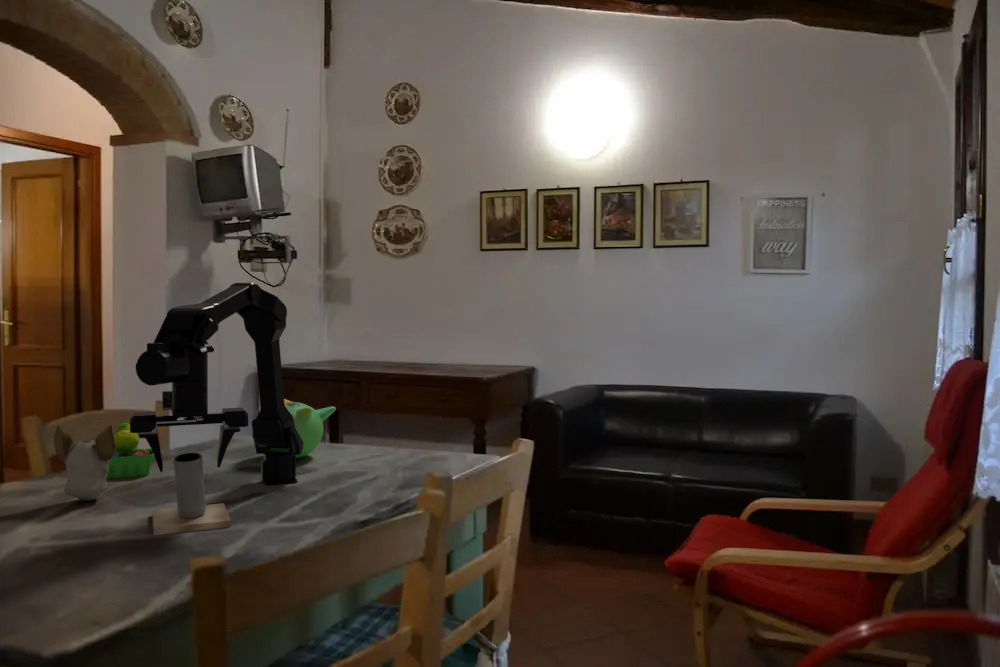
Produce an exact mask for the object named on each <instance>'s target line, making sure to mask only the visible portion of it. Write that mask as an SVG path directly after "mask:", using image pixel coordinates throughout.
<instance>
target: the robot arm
mask: <svg viewBox="0 0 1000 667" xmlns="http://www.w3.org/2000/svg"><path fill="white" fill-rule="evenodd" d="M234 314H237V315H239V317H241V318H242V319H243V325H244V330H245V331H246V332H247V334H248V336H249V337H250V338H251V340H252V341H253V342H254V352H255V360H256V362H255V363H256V373H257V374H256V375H257V385H258V396H259V405H260V406H259V407H260V410H259V412H258V414H257V415H256V417H255V418H253V419H252V421H251V428H252V439H253V443H254V447H255V453H256V454H257V455H260V454H261V455H263V459H261V460H260V479H261V480H262V482H263V483H264V484H265V485H266V486H275V485H276V486H277V485H286V484H297V483H298V479H297V475H296V474H297V472H296V471H297V470H296V467H297V466H296V464H297V462H296V459H297V458H296V455H299V454H301V452H302V451H303V444H304V442H303V440H302V439H301V437H300V435H299V434H298V432H297V430H296V429H295V424H294V418H293V416H292V415H291V414H290V412H289V411H288V409H287V408H286V407H285V404H284V399H285V395H284V393H285V392H284V383H283V381H284V380H283V371H282V357H281V347H280V345H281V344H280V338H281V336H282V335H283V333H284V331H285V329H286V328H287V316H288V309H287V306H286V305H285V303H284V302H282V300H281V299H280V298H279V297H278V296H277V295H275V294H273V293H270V292H268V291H266V290H265V289H262V288H261V287H260V285H258V284H256V283H254V282H234V283H232V284H230V285H229V286H228V288H225V289H224V290H221V291H220V292H218V293H216V294H214V295H213V296H210V297H209V298H207V299H206V300H203V301H201V302H199V303H193V304H184V305H180V306H175V307H171V308H170V309H169V310H168V311H167V312H166V316H165V318H164V319H163V322H162V324H161V326H160V328H159V331H158V333H157V334H156V336H155V338H154V340H153V342H148V343H146V350H145V351H144V352H142V353H141V355H139V357H138V358H137V362H136V363H135V373H136V376H137V377H138V379H139V380H140V382H142V383H143V384H145V385H147V386H158V385H164V384H171V388H172V389H171V390H170V391H169V390H166V391H162V392H161V394H162V396H161V398H162V400H161V403H162V405H161V406H162V411H171V412H170V413H171V415H169V414H168V415H157V413H156V411H140V412H133V413H132V414H131V415H130V418H129V424H130V433H137V434H138V437H139V439H145V440H146V442H147V443H148V445H149V447H150V449H152V451H153V453H154V459H155V460H156V464H157V467H158V470H159V472H160V473H162V472H163V470H164V466H163V465H164V464H163V463H164V462H163V456H162V449H161V444H160V437H159V431H158V428H159V427H176V426H180V427H181V426H197V425H198V426H199V425H214V424H215V425H216V424H220V425H219V439H218V444H217V445H218V447H217V455H216V467H217V468H221V465H222V462H223V460H224V458H225V455H226V452H227V449H228V446H229V444H230V443H231V441H232V438H233V437H234V435H235V433H240V432H241V428H246V427H249V414H248V412H247V411H246V410H245V409H244V408H243V407H224V408H222V409H221V412H217V413H213V412H211V413H209V409H208V408H209V406H208V405H209V402H208V401H209V397H208V395H209V394H208V393H209V391H208V390H209V389H208V387H209V386H208V385H209V384H208V383H209V382H208V380H209V378H208V377H209V375H208V374H209V369H208V367H209V365H208V363H209V362H208V361H209V360H208V355H209V354H210V353H214V352H215V348H214V347H213V346H212V345H211V344H209V342H208V340H210V338H212V337H213V336H214V335H215V334H216V333H217V332H218V331H219V324H220V323H221V322H223V321H224V320H226V319H228V318H229V317H231V316H232V315H234ZM180 418H183V419H180Z"/></svg>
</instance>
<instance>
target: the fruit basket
mask: <svg viewBox="0 0 1000 667" xmlns="http://www.w3.org/2000/svg"><path fill="white" fill-rule="evenodd" d="M113 436H114V440H115V445H116V447H115V454H114V455H113V457H112V458H111V459H110V460H109V468H108V473H107V477H106V479H114V478H115V479H116V478H131V477H146V476H147V477H148V476H149V475H150V471H151V467H152V466H151V465H152V463H153V459H154V458H155V456H154V453H153V451H152V449H151V448H139V447H138V445H139V441H140V438H139V434H138V433H130V423H127V422H124V423H121V424H119V425H118V427H117V429H116V432H115V433H114V434H113Z"/></svg>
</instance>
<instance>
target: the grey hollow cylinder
mask: <svg viewBox="0 0 1000 667" xmlns="http://www.w3.org/2000/svg"><path fill="white" fill-rule="evenodd" d="M173 468H174V470H173V471H174V481H175V483H174V484H175V492H176V493H175V494H176V496H175V498H176V505H177V506H176V508H177V509H178V516H179V517H181V518H194V517H198V516H201V515H203V514H204V513H205V512H206V505H207V504H206V494H205V493H206V492H205V480H204V479H205V477H204V465H203V455H202V453H201V454H200V453H198V452H187V453H186V452H185V453H182V454H179V455H176V456H174V458H173Z"/></svg>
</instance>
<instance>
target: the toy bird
mask: <svg viewBox="0 0 1000 667" xmlns="http://www.w3.org/2000/svg"><path fill="white" fill-rule="evenodd" d="M284 404H285V407H286V408H287V409H288V411H289V412H290V414H291V415H292V416H293V418H294V424H295V429H296V430H297V432H298V434H299V435H300V437H301V439H302V440H303V442H304V444H303V451H302V452H301V454H299V455H296V459H300V458H302V457H305V456H307V455H309V454H311V453H312V452H314V450H315V449H316V448H317V447H318V446H319V445H320V443H321V440H322V438H323V435H324V421H326V420H327V419H328V418H329V417H330V416H331V415H333V414H334V412H336V409H337V408H336V407H335V406H327V407H324V408H317V409H315V408H313V407H312V406H310V405H307V404H305V403H302V402H300V401H291V400H288V399H286V398H284Z"/></svg>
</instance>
